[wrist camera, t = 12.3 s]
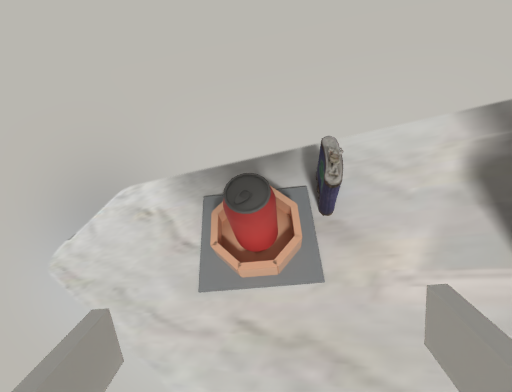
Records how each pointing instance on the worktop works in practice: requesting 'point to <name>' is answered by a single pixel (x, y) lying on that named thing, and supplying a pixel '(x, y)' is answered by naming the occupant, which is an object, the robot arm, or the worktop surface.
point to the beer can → (251, 211)
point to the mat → (295, 272)
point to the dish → (264, 260)
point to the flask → (329, 174)
